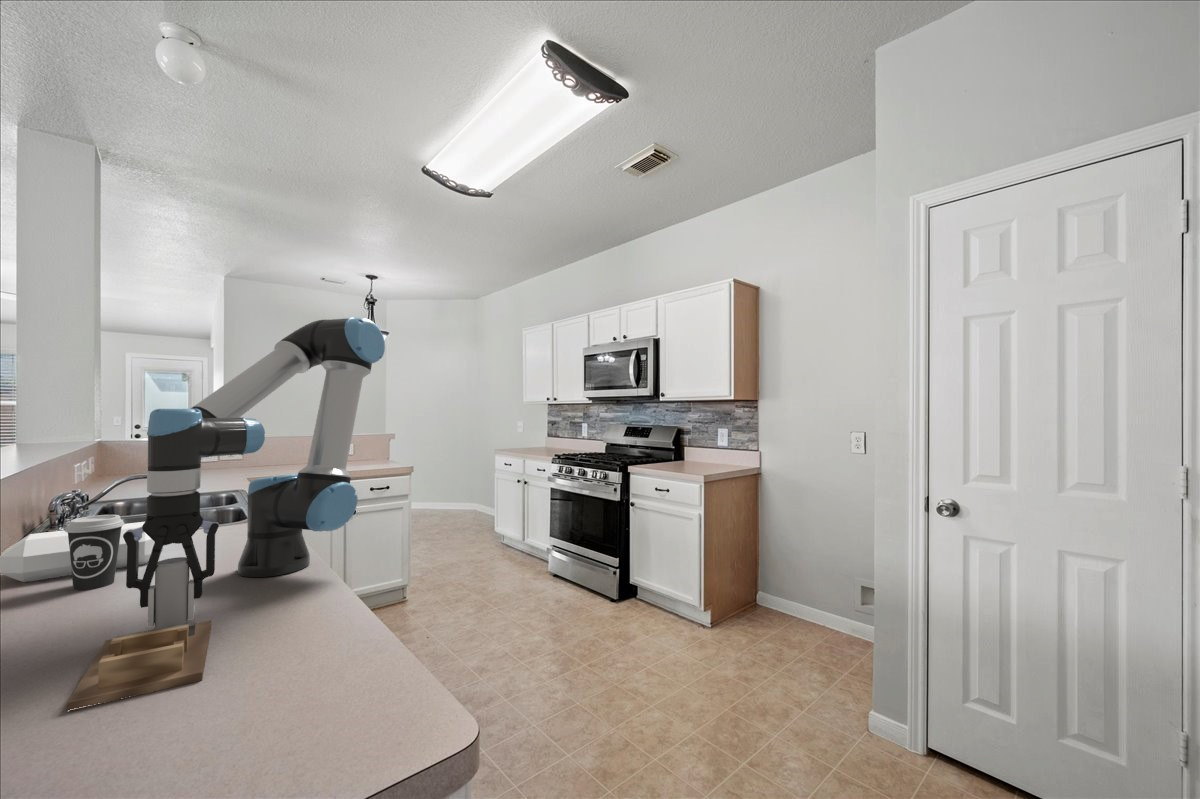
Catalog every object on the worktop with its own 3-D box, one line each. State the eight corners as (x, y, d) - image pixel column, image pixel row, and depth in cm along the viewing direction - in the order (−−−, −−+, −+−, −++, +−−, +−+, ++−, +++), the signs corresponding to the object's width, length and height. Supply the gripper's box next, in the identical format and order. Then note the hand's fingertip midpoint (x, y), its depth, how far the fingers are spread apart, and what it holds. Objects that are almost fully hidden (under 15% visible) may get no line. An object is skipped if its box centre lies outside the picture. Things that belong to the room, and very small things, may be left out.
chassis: (211, 627, 93) (211, 601, 93) (202, 680, 74) (202, 648, 75) (105, 647, 85) (106, 618, 85) (66, 712, 66) (67, 676, 67)
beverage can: (168, 633, 90) (169, 565, 90) (146, 631, 91) (148, 563, 91) (195, 622, 94) (196, 557, 95) (174, 620, 95) (175, 556, 96)
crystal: (165, 526, 130) (-3, 546, 111) (164, 564, 130) (-4, 590, 111) (162, 517, 141) (9, 534, 122) (162, 552, 140) (7, 574, 121)
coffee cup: (133, 580, 117) (134, 515, 117) (79, 595, 108) (81, 524, 108) (107, 576, 120) (108, 512, 120) (52, 589, 111) (54, 521, 111)
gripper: (234, 485, 101) (232, 603, 101) (112, 493, 91) (109, 624, 90) (233, 490, 95) (231, 615, 95) (102, 500, 85) (98, 640, 84)
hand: (171, 619), depth 92 cm, fingers closed on beverage can, 5 cm apart
